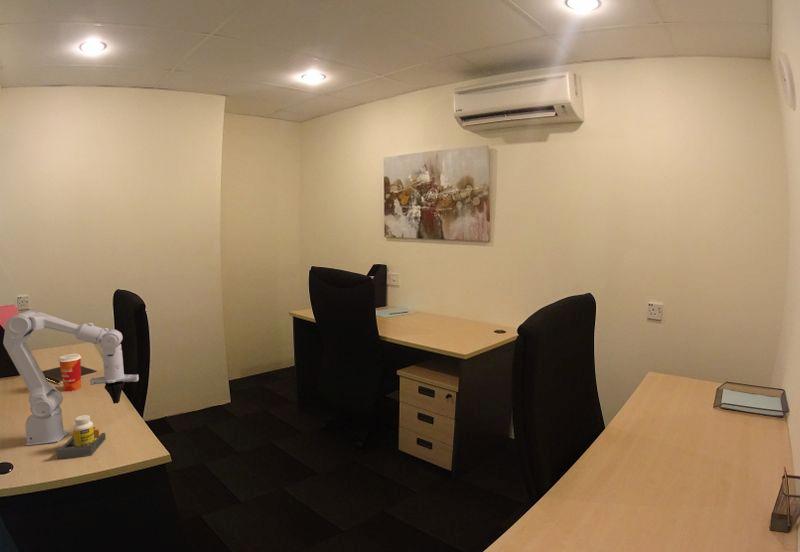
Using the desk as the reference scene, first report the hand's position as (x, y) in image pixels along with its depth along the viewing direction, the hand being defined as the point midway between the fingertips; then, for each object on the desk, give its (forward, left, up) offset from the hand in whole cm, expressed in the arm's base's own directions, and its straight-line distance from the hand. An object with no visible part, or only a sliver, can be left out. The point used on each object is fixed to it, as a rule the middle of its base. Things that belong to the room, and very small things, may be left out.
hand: (116, 402), depth 157 cm
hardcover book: (-45, +70, -11) cm, 84 cm away
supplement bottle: (-7, -11, -10) cm, 16 cm away
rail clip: (-7, -11, -10) cm, 16 cm away
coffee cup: (-34, +49, -10) cm, 60 cm away
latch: (-6, -5, -10) cm, 13 cm away
